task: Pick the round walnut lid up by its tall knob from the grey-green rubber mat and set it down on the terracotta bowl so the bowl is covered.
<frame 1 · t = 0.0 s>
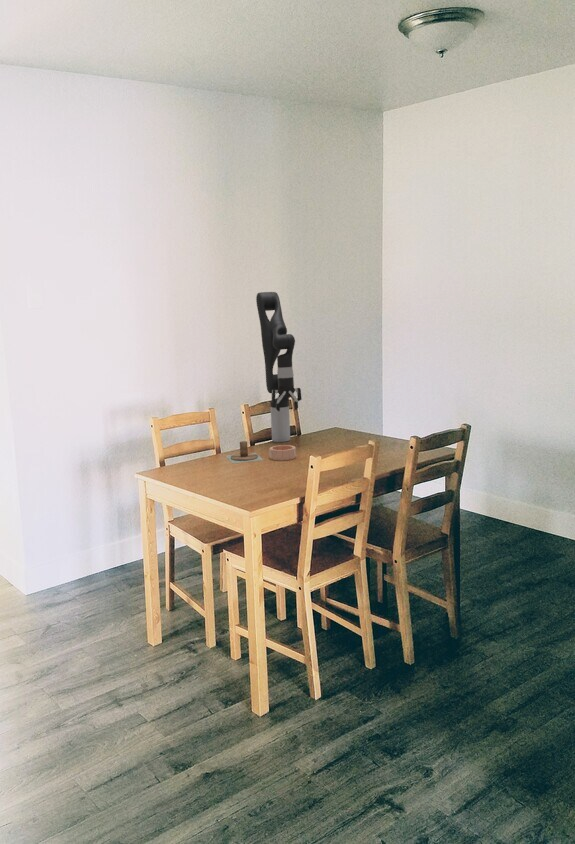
hand: (287, 410, 341), 17 cm above the table, fingers open, 8 cm apart
mat: (244, 459, 319), on the table
lid: (244, 457, 319), point 1 cm above the table, touching mat
bowl: (282, 458, 316), on the table
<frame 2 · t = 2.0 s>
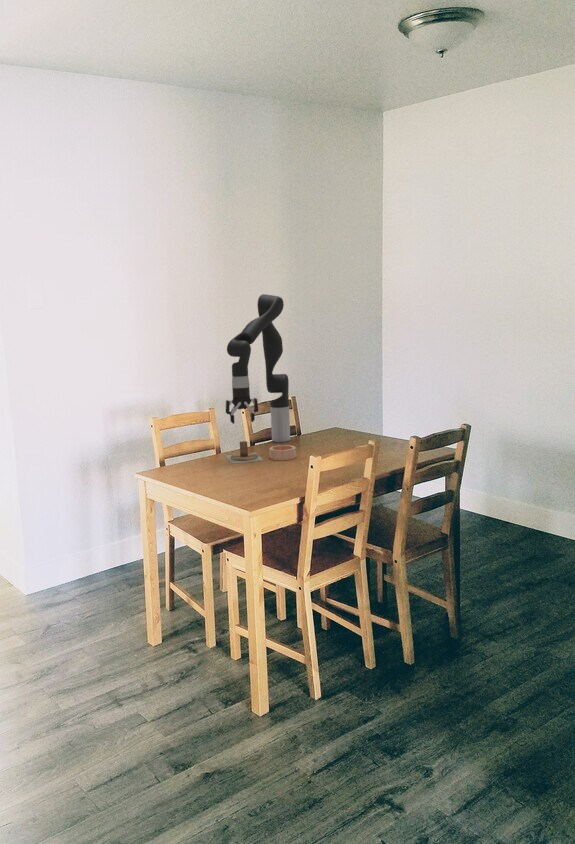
hand: (242, 422, 316), 17 cm above the table, fingers open, 8 cm apart
nothing on the table moved.
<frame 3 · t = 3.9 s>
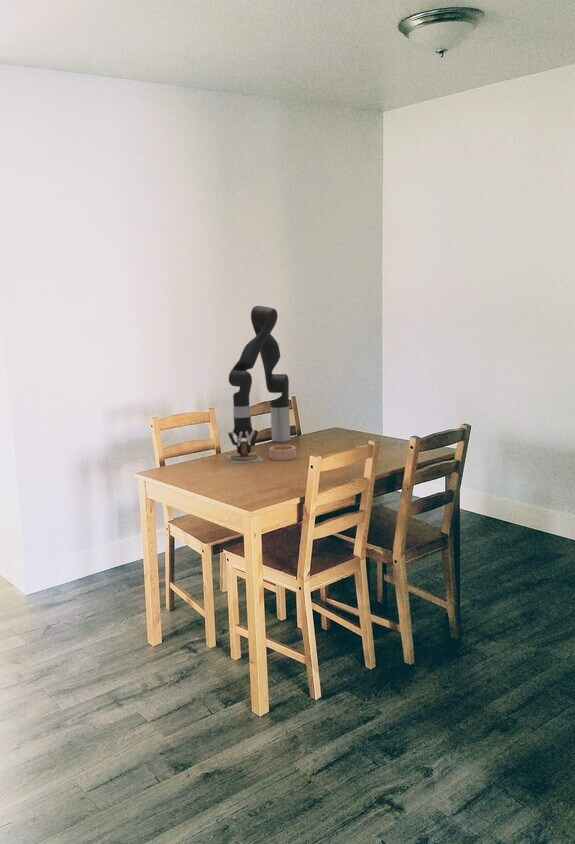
hand: (244, 453, 318), 3 cm above the table, fingers closed on lid, 3 cm apart
lid: (244, 457, 319), point 1 cm above the table, touching gripper, mat
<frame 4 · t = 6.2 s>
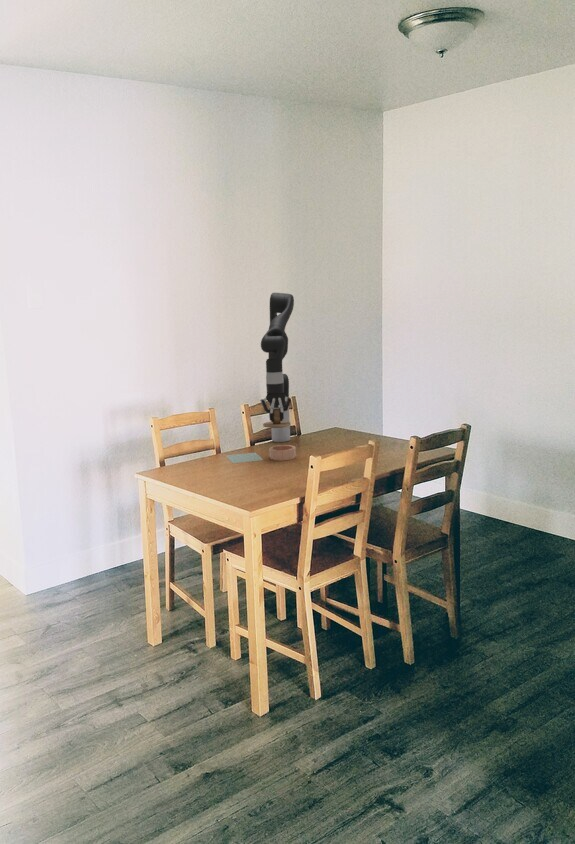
hand: (276, 420, 313), 17 cm above the table, fingers closed on lid, 3 cm apart
lid: (276, 425, 314), point 15 cm above the table, touching gripper
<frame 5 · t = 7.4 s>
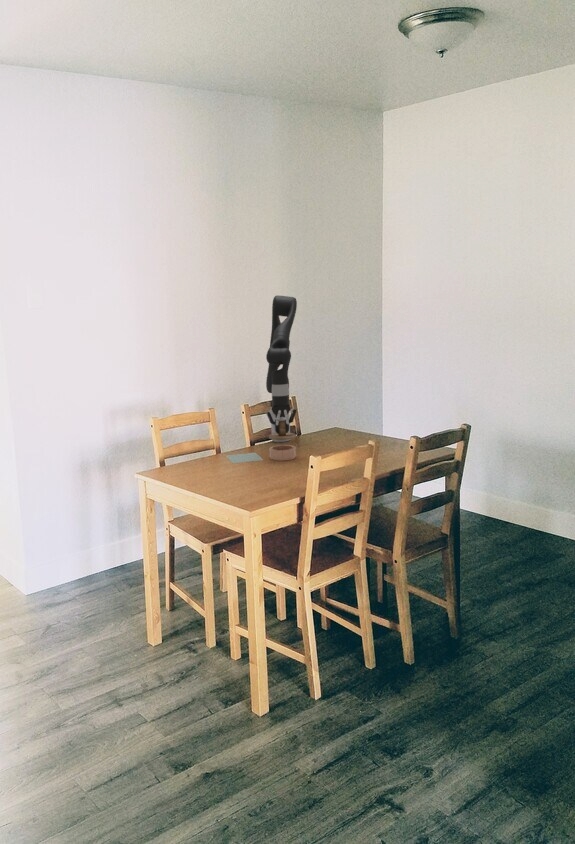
hand: (282, 432, 314), 12 cm above the table, fingers closed on lid, 3 cm apart
lid: (282, 437, 314), point 10 cm above the table, touching gripper
when the fingers open (8 cm above the table, at t = 8.4 s): lid stays where it is, resting on bowl.
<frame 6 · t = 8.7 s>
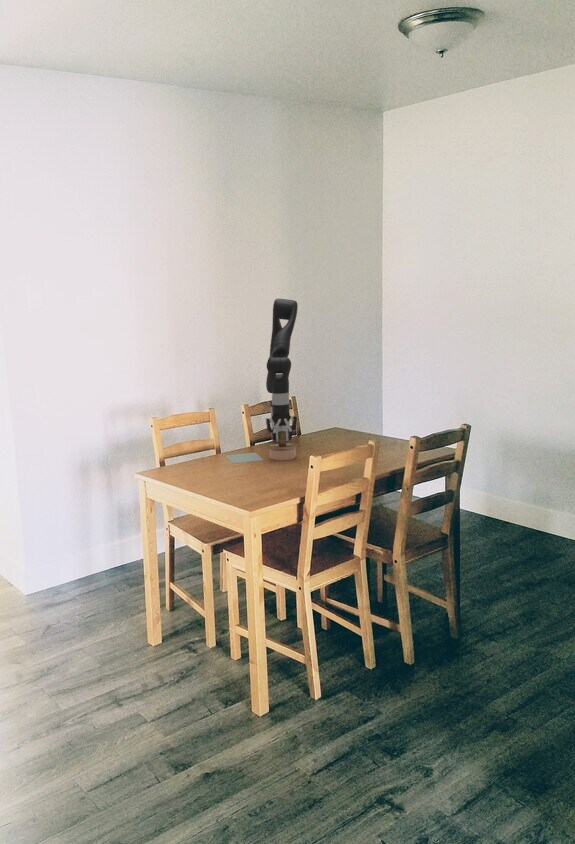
hand: (282, 440, 315), 8 cm above the table, fingers open, 6 cm apart
lid: (282, 447, 315), point 5 cm above the table, touching bowl
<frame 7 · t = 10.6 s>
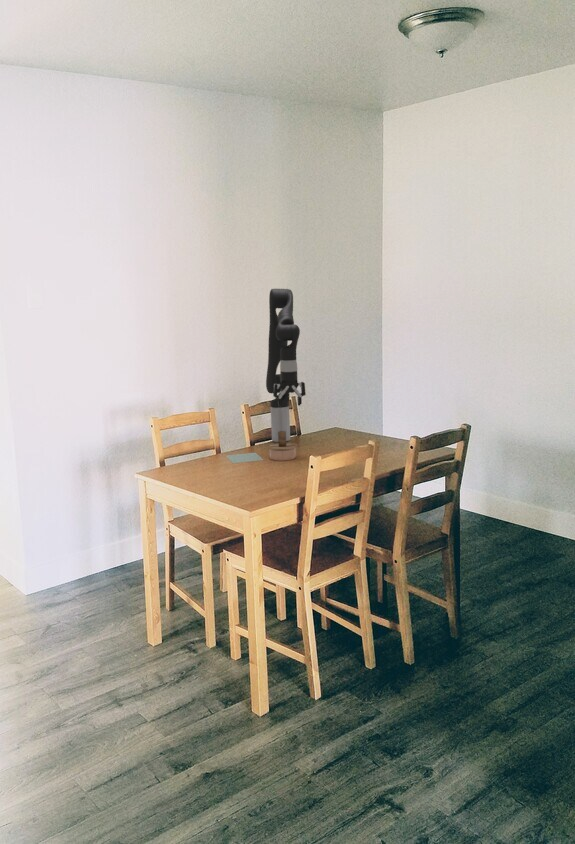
hand: (289, 406, 319), 23 cm above the table, fingers open, 8 cm apart
nothing on the table moved.
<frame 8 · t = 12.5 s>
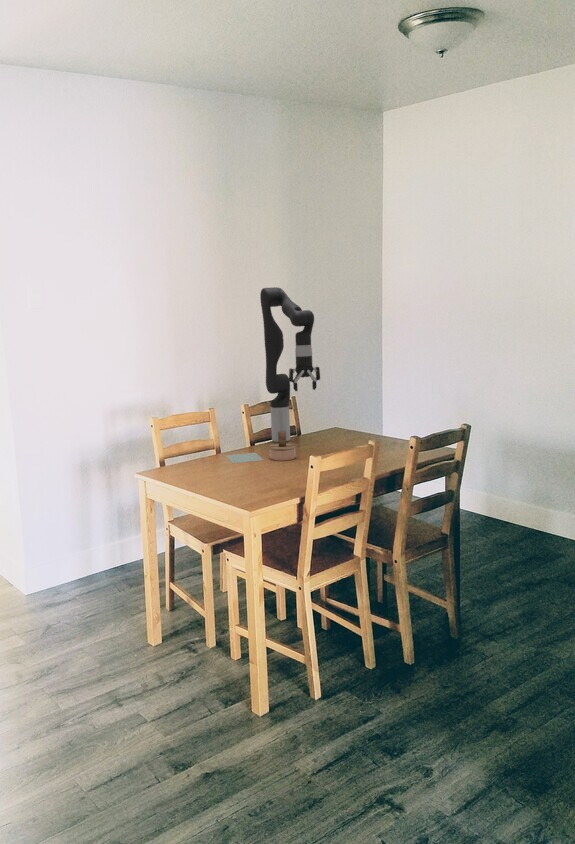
hand: (305, 390, 326), 28 cm above the table, fingers open, 8 cm apart
nothing on the table moved.
at the end: lid 0.0 cm from the bowl (horizontally); lid inside the target area (0.0 cm from its centre), point 5.0 cm above the table; lid tilted 0° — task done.
